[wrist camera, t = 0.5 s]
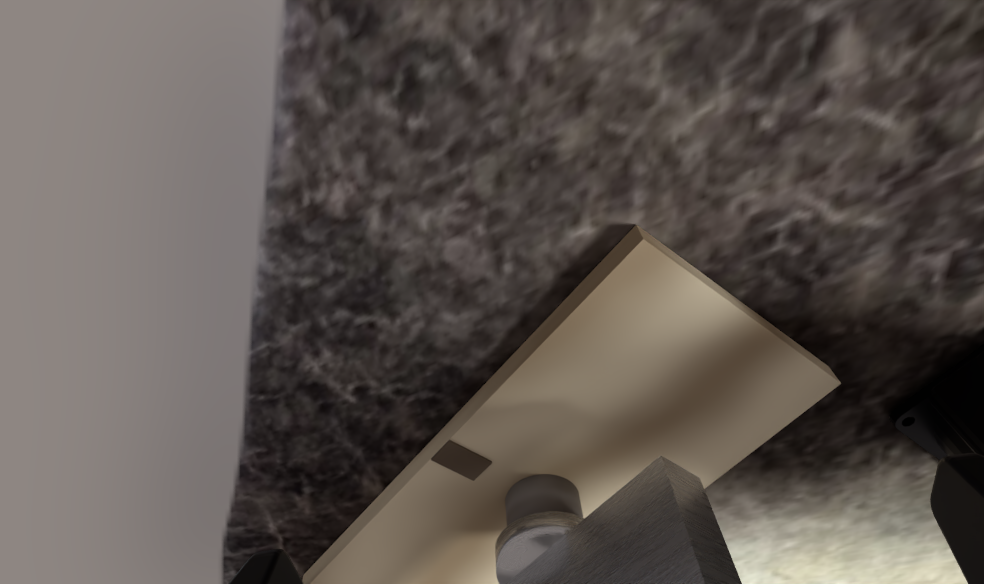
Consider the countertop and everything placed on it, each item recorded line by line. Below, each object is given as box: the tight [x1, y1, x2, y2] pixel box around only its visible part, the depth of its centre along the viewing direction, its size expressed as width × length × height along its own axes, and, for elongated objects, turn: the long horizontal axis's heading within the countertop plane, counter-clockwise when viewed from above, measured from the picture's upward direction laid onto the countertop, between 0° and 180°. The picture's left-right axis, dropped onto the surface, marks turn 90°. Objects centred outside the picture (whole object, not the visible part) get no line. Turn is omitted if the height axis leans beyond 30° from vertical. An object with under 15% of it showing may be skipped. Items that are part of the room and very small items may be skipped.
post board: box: [302, 225, 841, 584], centre depth 26 cm, size 10×22×3 cm, turn 143°
